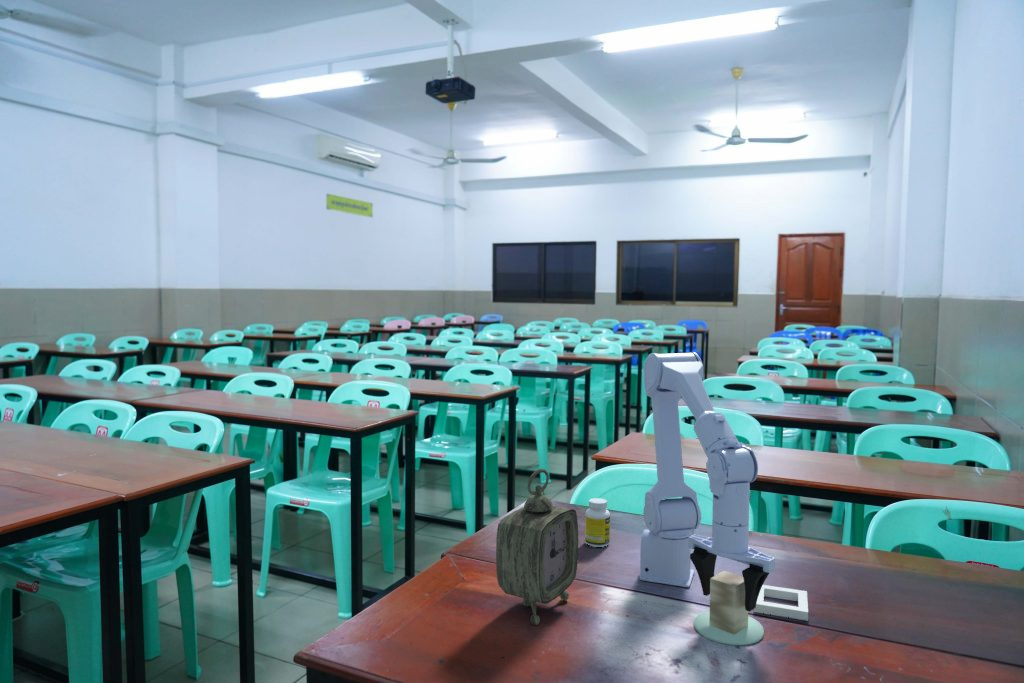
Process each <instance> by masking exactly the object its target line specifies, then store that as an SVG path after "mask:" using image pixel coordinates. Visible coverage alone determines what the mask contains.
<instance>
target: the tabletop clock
mask: <svg viewBox="0 0 1024 683" xmlns="http://www.w3.org/2000/svg"><path fill="white" fill-rule="evenodd" d="M542 473H543V474H544V475H545V482H544V484H543V485H539V484H538V485H535V490H531V484H532V481H533V479H534V478H535V477H536V476H537V475H539V474H542ZM549 481H550V476H549V472H548V471H547V469H545V468H539V469H537V470H535V471H534V472H532V474H531V475H530V476H529V479H528V481H527V491H528V492H529V493H528V494H530V496H529V497H527V499H526V501H525V502H524V504H523V507H520V508H519V509H516V510H514V511H512V512H510V513H509V514H507V515H506V516H505V517H502V519H500V521H499V523H498V524H497V530H496V540H495V541H496V545H495V546H496V547H495V564H496V566H495V567H496V579H497V580H496V581H497V584H498V587H500V589H501V590H502V591H503V592H504V594H506V595H510V596H513V597H517V598H521V599H522V603H523V606H525V607H531V611H532V615H531V617H530V619H529V620H530V623H531V624H532V625H534V626H537V625H539V624H540V622H541V618H540V616H539V615H538V614H537V603H538V604H543V605H544V604H549V603H551V602H552V601H554V600H555V599H556V598H558V597H560V599H561V600H562V601H568V600H569V599H570V594H569V592H568V591H567V589H568V588H569V587H570V586H571V585H572V584H573V582H574V580H575V579H576V576H577V571H578V570H577V569H578V559H579V525H578V524H579V523H578V515H577V511H576V510H575V509H573V508H567V507H561V506H558V505H557V506H556V505H554V504H553V502H552V499H550V498H549V496H547V495H546V494H545V495H543V494H542V493H543V491H544V492H545V489H546V488H547V487H548V484H549Z"/></svg>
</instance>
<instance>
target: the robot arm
mask: <svg viewBox="0 0 1024 683" xmlns="http://www.w3.org/2000/svg"><path fill="white" fill-rule="evenodd" d="M642 367H643V369H642V371H643V373H642V374H643V385H644V394H645V395H646V397H649V398H651V408H652V409H651V410H652V420H653V433H654V434H653V435H654V447H655V448H654V449H655V462H656V463H655V464H656V476H657V482H655V484H653V486H651V487H650V488H649V489H648V490H647V491H646V492H645V494H644V507H643V519H644V520H643V521H644V524H645V527H646V528H647V529H643V531H642V533H641V539H640V552H639V554H640V566H639V567H640V570H639V572H640V573H639V574H640V576H639V580H641V581H645V582H650V583H656V584H657V583H658V584H665V585H669V586H675V587H682V588H690V586H691V584H692V581H693V578H694V575H695V570H696V573H697V574H698V579H699V582H700V584H701V586H700V587H701V590H702V594H703V596H706V597H707V596H710V578H712V577H713V576H715V568H716V562H717V558H718V557H721V558H725V559H729V560H731V561H736V562H738V563H741V564H745V565H747V566H748V567H746V568H744V569H743V570H742V571H741V574H742V575H741V576H743V579H744V584H745V610H746V611H748V612H751V611H754V608H755V607H756V603H757V599H758V595H759V593H760V590H761V588H762V585H764V583H765V581H766V579H767V578H768V576H769V575H770V573H771V572H773V571H775V570H776V558H775V557H773V556H770V555H767V554H765V553H763V552H761V551H759V550H757V549H755V548H753V547H750V546H749V540H750V539H749V533H750V531H749V529H750V493H751V490H750V489H751V485H750V484H751V483H753V482H755V481H756V479H757V478H758V473H759V464H758V460H757V457H756V454H755V452H754V450H753V449H752V448H751V447H749V446H746V445H745V443H744V442H740V441H739V439H738V438H737V436H736V434H735V433H734V431H733V429H732V427H731V425H730V423H729V421H728V420H727V418H726V416H725V415H724V414H723V413H721V412H717V411H716V410H715V409H714V407H713V404H712V402H711V400H710V397H709V394H708V392H707V390H706V387H705V385H704V382H703V379H704V365H703V361H702V359H701V357H700V356H699V354H698V353H697V352H694V351H690V352H677V353H675V352H670V353H656V352H651V353H649V354H648V355H647V357H646V359H645V361H644V364H643V366H642ZM681 398H682V400H683V401H684V404H686V406H687V408H688V410H689V411H690V412H691V414H692V416H693V418H694V419H695V422H694V425H693V431H694V433H695V436H696V437H697V439H698V441H699V444H700V445H701V447H702V449H703V452H704V454H705V456H706V458H707V461H706V463H705V466H706V467H705V469H706V473H707V476H708V481H709V489H710V493H712V522H711V523H712V526H711V528H712V529H711V530H712V531H711V536H710V537H709V536H703V535H699V534H695V531H696V530H697V529H698V528H699V527H700V524H701V520H702V511H701V507H700V505H699V502H698V496H697V491H696V490H694V488H692V487H691V486H690V485H688V484H687V483H685V478H684V466H683V451H682V440H681V439H682V438H681V425H680V413H679V401H680V400H681ZM691 550H692V551H693V552H691ZM691 562H692V564H693V566H694V569H692V568H691Z"/></svg>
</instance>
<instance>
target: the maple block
mask: <svg viewBox="0 0 1024 683" xmlns="http://www.w3.org/2000/svg"><path fill="white" fill-rule="evenodd" d="M709 611H710V620H709V625H711V626H713V627H716V628H718V629H721V630H723V631H726V632H728V633H731V634H734V635H735V634H736V633H738V632H739V631H741V630H742V629H744V628H745V627H746V626H748V616H749V611H746V610H745V584H744V579H743V575H739V574H736V573H734V572H733V573H732V572H730V571H727V570H723V571H721V572H719V573H717V574H714V576H713V577H712V578H710V594H709Z"/></svg>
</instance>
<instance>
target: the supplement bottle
mask: <svg viewBox="0 0 1024 683" xmlns="http://www.w3.org/2000/svg"><path fill="white" fill-rule="evenodd" d="M588 507H589V508H588V509H586V511H585V521H584V522H585V526H584V530H585V531H584V532H585V534H584V535H585V536H584V542H585V544H586V545H587V544H588V545H591V546H594V547H593V548H596V547H602V546H606V547H608V546H609V545H610V541H611V540H610V539H611V538H610V537H611V536H610V534H611V530H610V529H611V513H610V511H609V510H608V500H607V499H605V498H599V497H596V498H590V499H589V500H588ZM608 544H609V545H608ZM588 545H587V546H588ZM607 545H608V546H607ZM591 546H590V547H591ZM602 548H603V547H602Z"/></svg>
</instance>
